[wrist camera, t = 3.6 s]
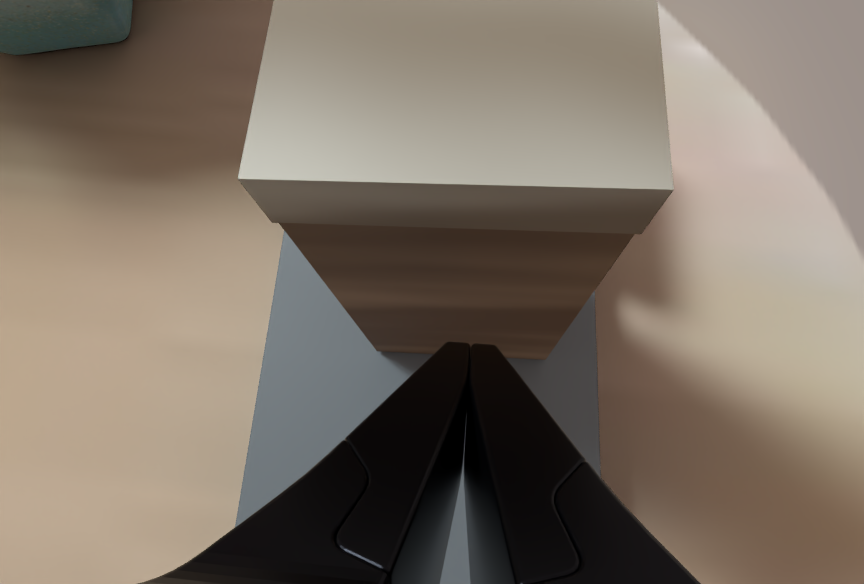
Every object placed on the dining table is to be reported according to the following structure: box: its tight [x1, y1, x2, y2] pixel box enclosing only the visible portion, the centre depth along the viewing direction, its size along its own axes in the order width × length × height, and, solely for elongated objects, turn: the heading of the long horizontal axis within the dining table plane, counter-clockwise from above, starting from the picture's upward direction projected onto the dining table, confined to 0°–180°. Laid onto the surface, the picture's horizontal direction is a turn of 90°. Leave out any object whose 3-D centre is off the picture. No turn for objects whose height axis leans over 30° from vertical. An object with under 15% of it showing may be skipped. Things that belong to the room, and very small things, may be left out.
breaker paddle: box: [238, 0, 674, 360], centre depth 11 cm, size 3×5×10 cm, turn 86°
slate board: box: [235, 230, 601, 584], centre depth 15 cm, size 17×10×3 cm, turn 176°
